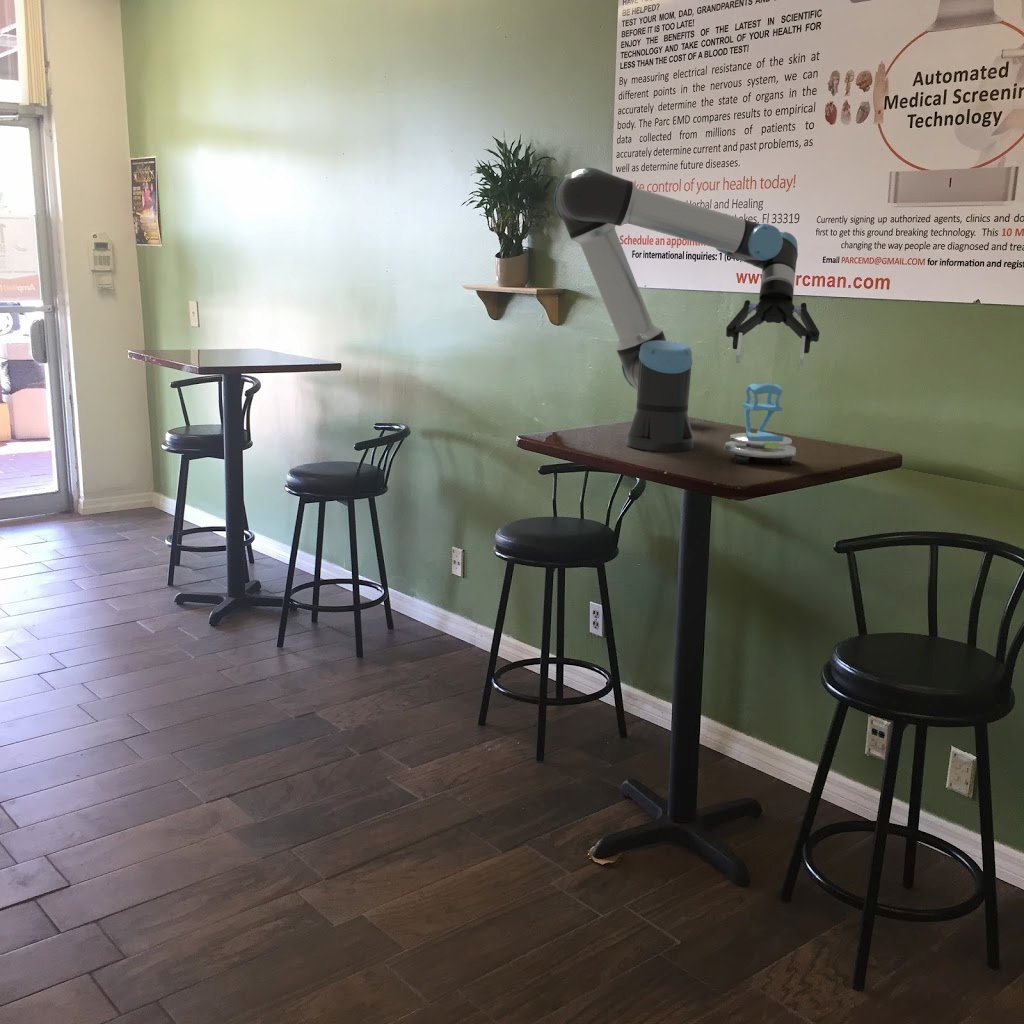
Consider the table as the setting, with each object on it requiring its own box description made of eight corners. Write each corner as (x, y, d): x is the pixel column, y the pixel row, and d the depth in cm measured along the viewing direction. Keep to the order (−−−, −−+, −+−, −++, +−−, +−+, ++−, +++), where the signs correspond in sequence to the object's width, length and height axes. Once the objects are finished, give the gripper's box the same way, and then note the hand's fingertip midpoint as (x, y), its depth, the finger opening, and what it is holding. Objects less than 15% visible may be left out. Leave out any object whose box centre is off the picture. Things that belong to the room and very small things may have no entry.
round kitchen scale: (735, 466, 222) (737, 443, 221) (714, 453, 236) (716, 431, 235) (805, 467, 223) (807, 444, 222) (780, 454, 238) (782, 432, 237)
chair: (769, 435, 233) (774, 380, 231) (783, 441, 225) (788, 384, 223) (735, 434, 232) (740, 379, 230) (748, 440, 224) (753, 383, 222)
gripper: (831, 303, 245) (826, 375, 234) (721, 298, 251) (711, 368, 240) (834, 280, 238) (829, 353, 228) (722, 275, 244) (712, 346, 234)
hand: (769, 361), depth 234 cm, fingers open, 13 cm apart
